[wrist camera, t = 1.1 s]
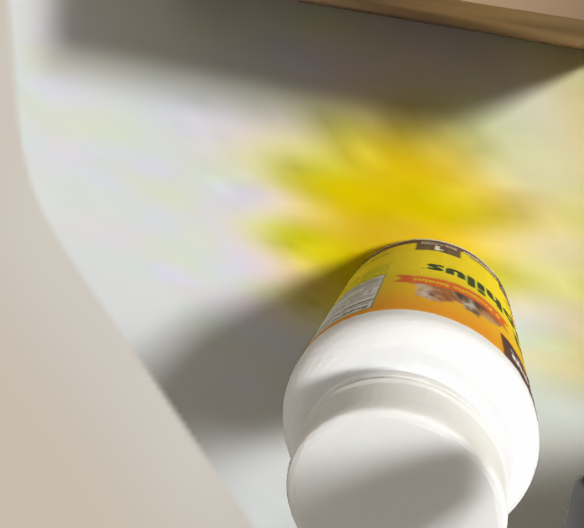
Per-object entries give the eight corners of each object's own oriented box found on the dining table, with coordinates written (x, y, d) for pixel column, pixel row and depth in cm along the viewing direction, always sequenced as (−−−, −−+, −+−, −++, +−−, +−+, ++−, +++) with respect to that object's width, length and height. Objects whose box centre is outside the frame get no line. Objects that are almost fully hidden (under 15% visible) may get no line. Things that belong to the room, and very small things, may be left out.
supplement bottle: (545, 331, 18) (636, 574, 9) (409, 409, 20) (366, 673, 11) (441, 199, 18) (421, 304, 9) (314, 292, 20) (188, 458, 11)
